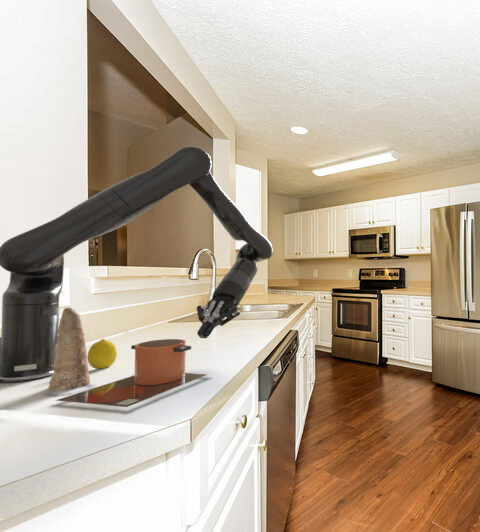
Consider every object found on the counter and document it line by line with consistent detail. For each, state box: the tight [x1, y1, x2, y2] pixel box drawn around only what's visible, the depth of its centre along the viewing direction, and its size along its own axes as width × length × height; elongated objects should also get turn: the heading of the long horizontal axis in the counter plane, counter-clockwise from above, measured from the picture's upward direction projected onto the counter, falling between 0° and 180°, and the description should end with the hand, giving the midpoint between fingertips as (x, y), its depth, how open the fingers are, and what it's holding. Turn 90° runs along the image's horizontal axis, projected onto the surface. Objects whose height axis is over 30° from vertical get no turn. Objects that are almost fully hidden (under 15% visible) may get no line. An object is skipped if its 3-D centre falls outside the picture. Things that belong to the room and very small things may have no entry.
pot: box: [130, 338, 192, 385], centre depth 77 cm, size 13×9×8 cm
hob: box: [55, 372, 208, 408], centre depth 72 cm, size 16×20×1 cm
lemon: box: [87, 338, 118, 370], centre depth 86 cm, size 6×6×8 cm
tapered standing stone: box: [48, 307, 91, 392], centre depth 71 cm, size 6×18×6 cm
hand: (201, 336), depth 89 cm, fingers closed
